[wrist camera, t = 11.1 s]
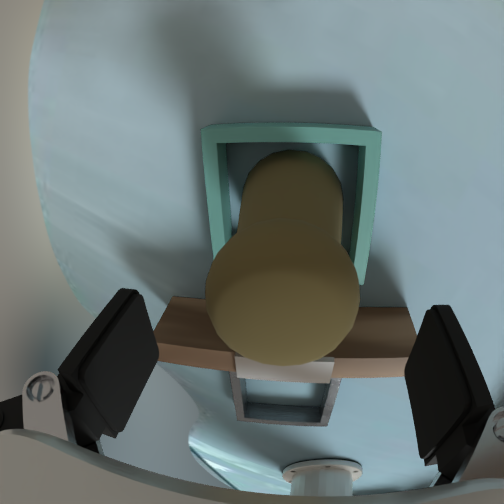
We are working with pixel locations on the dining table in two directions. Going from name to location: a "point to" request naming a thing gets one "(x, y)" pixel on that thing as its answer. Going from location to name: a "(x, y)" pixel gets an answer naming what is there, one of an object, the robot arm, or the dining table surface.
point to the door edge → (319, 371)
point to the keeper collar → (283, 407)
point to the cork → (285, 265)
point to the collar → (293, 132)
